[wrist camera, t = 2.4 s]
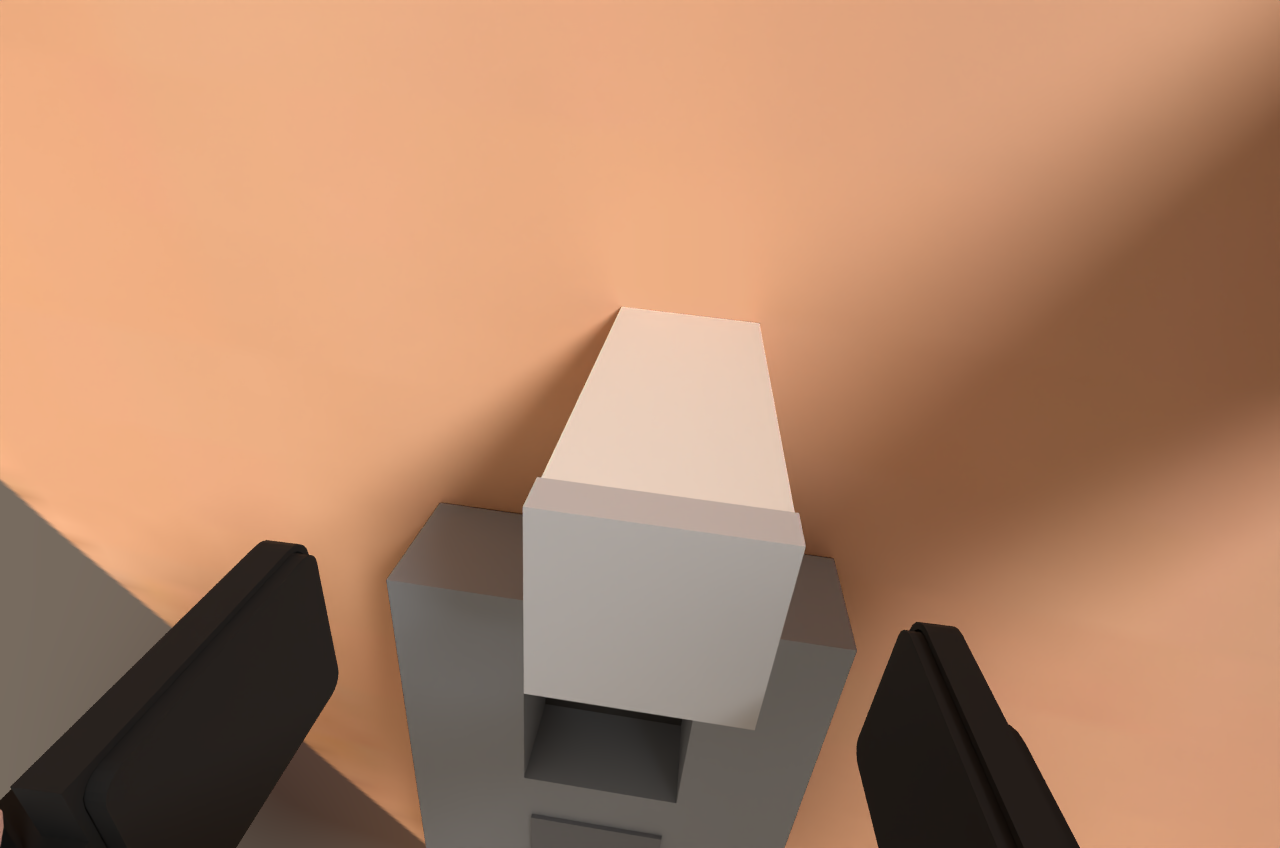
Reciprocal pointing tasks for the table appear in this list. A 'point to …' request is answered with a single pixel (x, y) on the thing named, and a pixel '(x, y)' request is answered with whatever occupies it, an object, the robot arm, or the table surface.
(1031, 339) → the table surface
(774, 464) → the plug
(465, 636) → the plate
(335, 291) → the table surface
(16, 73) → the table surface
